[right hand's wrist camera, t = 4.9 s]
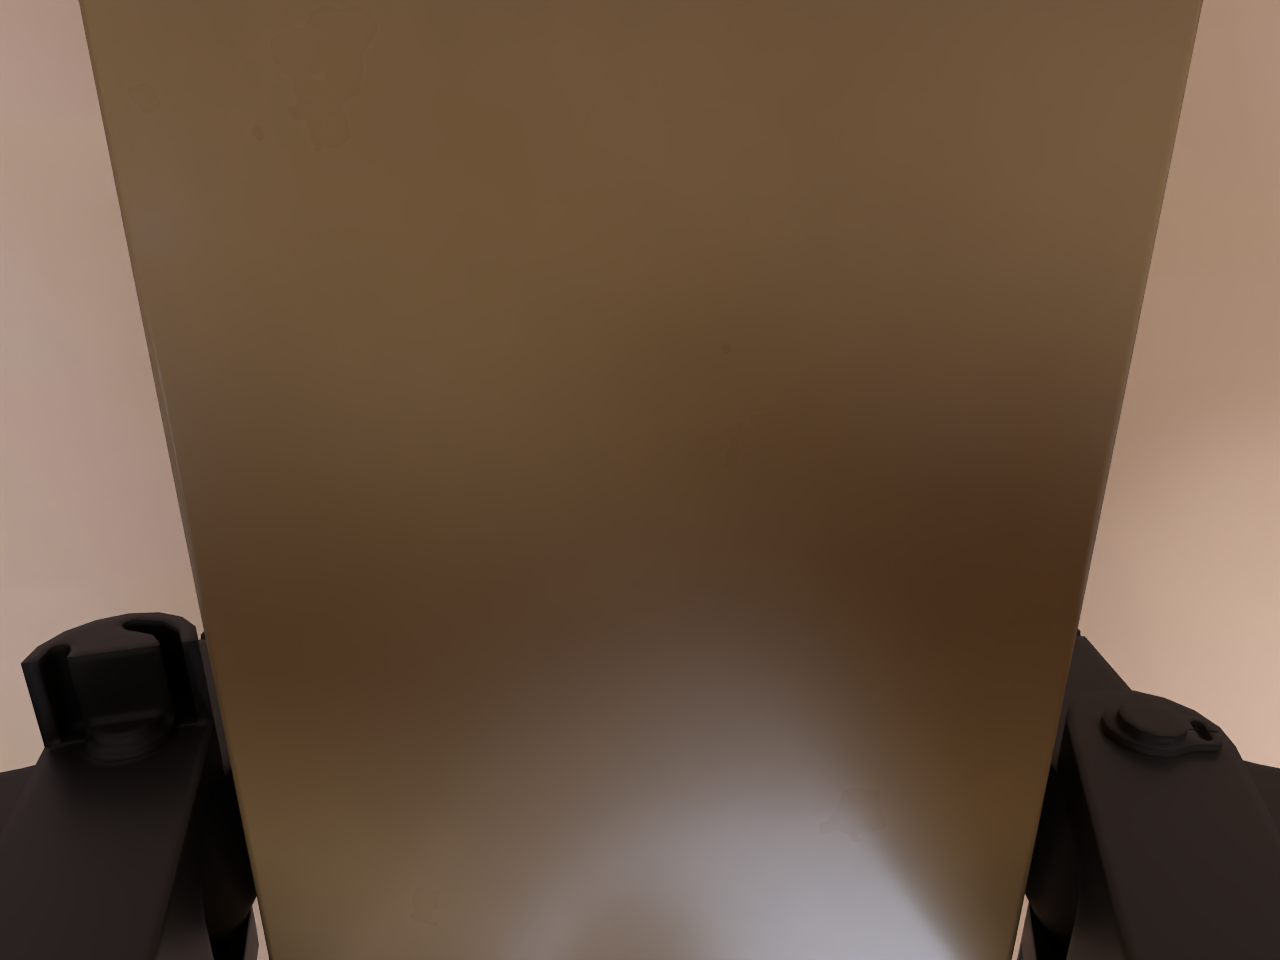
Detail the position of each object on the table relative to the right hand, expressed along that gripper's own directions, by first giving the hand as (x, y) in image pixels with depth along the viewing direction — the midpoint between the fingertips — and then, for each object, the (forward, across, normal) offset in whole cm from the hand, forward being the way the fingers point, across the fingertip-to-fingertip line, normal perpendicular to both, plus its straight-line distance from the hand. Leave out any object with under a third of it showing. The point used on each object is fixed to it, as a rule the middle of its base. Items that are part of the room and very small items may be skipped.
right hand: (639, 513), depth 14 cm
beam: (+1, 0, -19) cm, 19 cm away
